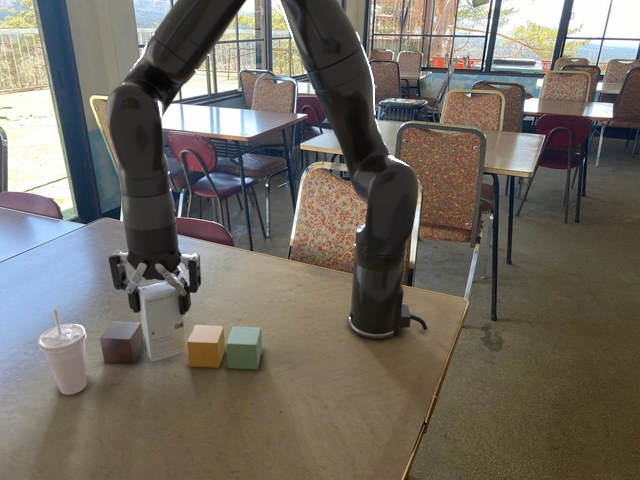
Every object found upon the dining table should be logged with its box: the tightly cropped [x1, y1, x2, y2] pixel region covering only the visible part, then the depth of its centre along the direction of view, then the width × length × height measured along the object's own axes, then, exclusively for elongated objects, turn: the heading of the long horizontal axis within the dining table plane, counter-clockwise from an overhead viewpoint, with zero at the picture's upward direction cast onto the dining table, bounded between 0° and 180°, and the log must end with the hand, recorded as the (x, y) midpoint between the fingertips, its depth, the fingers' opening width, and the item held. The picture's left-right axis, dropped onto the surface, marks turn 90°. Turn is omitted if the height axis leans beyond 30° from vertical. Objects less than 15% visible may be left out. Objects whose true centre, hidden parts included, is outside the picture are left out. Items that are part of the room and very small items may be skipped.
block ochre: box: [186, 324, 226, 369], centre depth 82 cm, size 5×5×5 cm
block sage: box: [225, 326, 263, 370], centre depth 82 cm, size 5×5×5 cm
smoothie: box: [37, 307, 87, 396], centre depth 73 cm, size 6×6×14 cm
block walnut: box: [99, 321, 145, 365], centre depth 82 cm, size 5×5×5 cm
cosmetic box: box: [138, 281, 187, 363], centre depth 80 cm, size 6×4×12 cm
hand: (161, 311), depth 80 cm, fingers closed on cosmetic box, 7 cm apart
